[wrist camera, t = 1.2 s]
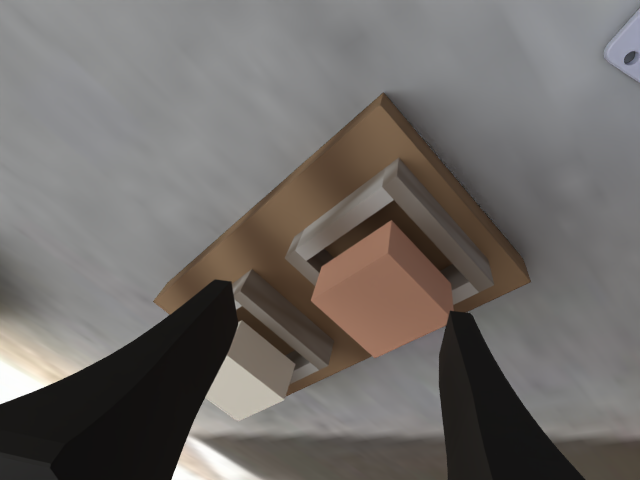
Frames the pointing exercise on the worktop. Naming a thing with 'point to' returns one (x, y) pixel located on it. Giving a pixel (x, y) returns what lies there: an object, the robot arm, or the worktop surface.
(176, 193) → the worktop surface
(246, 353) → the cream key
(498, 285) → the board
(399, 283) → the pink flat block
